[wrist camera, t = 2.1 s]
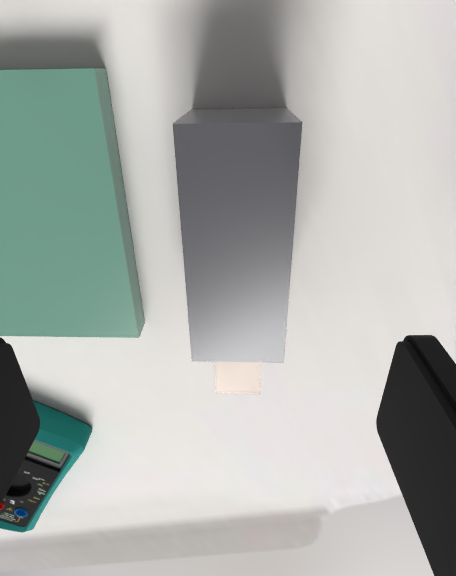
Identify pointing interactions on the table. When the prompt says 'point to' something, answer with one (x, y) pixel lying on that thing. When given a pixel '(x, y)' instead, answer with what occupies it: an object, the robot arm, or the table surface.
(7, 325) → the header board
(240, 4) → the table surface
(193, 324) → the block
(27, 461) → the digital multimeter
